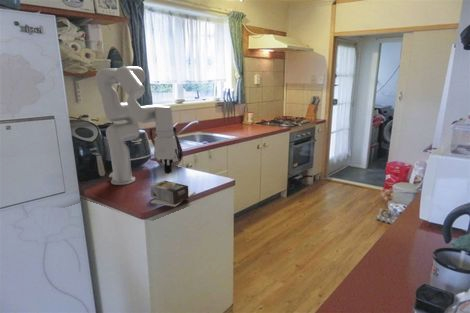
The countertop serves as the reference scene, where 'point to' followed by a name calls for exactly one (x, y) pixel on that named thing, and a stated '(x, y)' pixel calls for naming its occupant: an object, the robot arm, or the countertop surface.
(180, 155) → the ceramic pitcher
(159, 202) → the mat
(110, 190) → the countertop surface
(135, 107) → the robot arm
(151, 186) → the coffee box
